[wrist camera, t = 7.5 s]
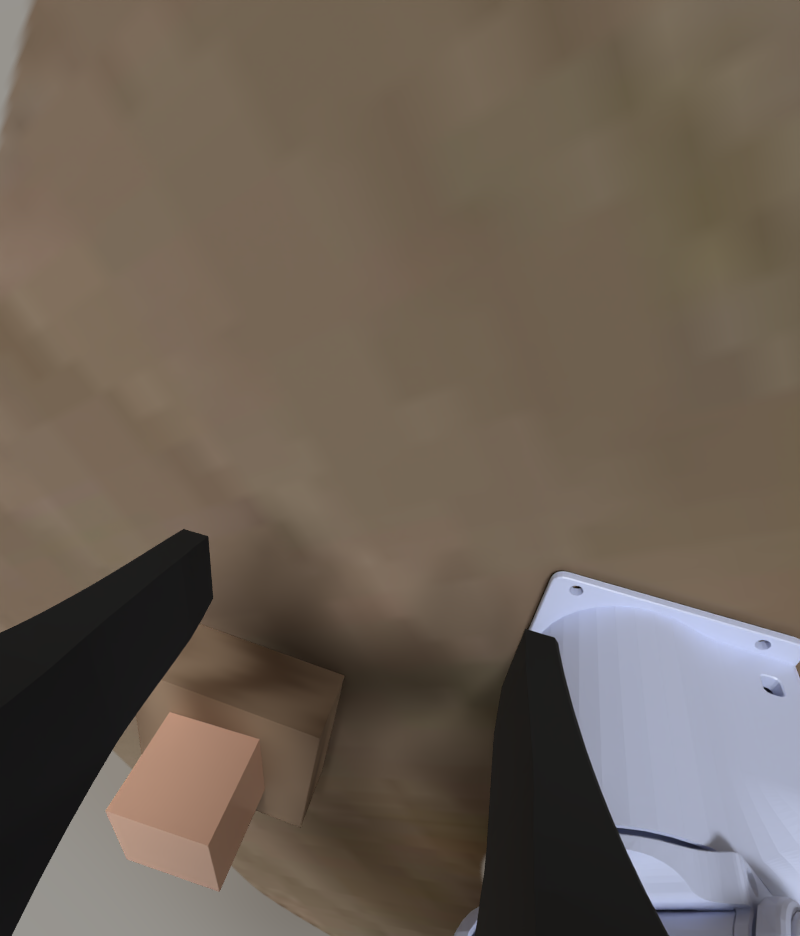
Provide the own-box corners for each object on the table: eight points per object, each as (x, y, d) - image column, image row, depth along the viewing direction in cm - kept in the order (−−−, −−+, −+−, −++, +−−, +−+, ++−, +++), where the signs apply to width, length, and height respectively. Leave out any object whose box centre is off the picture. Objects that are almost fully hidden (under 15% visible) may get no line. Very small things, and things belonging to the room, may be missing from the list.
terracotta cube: (259, 739, 29) (208, 845, 25) (265, 788, 32) (219, 891, 28) (169, 711, 30) (105, 811, 26) (182, 762, 32) (126, 859, 28)
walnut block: (347, 669, 30) (319, 738, 27) (325, 761, 36) (300, 827, 33) (175, 608, 31) (129, 667, 28) (180, 708, 37) (143, 766, 34)
